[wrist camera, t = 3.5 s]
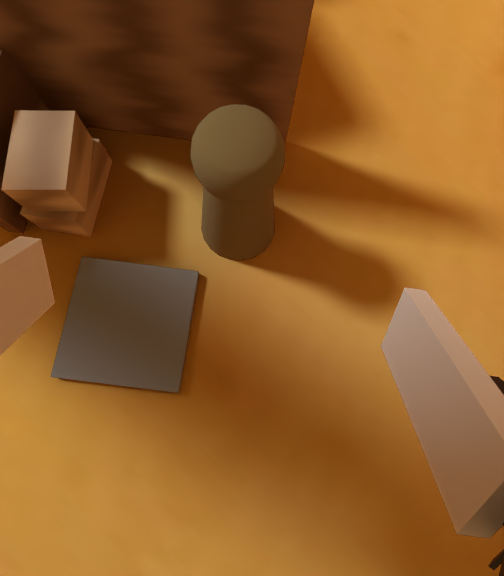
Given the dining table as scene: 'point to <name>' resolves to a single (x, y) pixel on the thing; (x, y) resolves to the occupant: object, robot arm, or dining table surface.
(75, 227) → the offcut lower
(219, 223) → the olive brown peg
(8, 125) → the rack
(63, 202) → the offcut upper
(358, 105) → the dining table surface
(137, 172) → the dining table surface
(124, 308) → the coaster
